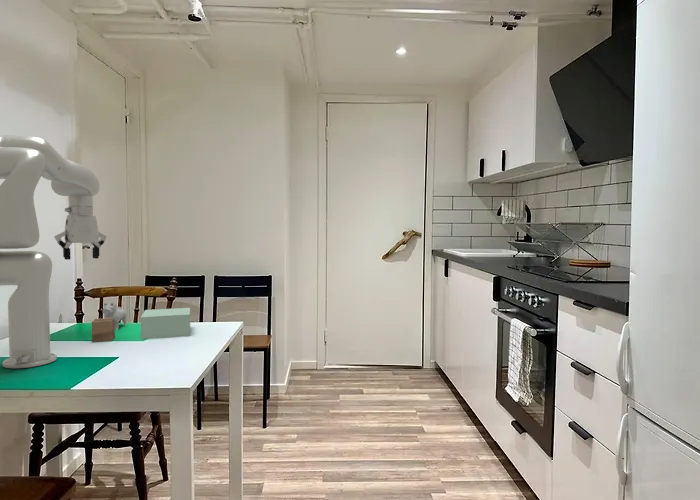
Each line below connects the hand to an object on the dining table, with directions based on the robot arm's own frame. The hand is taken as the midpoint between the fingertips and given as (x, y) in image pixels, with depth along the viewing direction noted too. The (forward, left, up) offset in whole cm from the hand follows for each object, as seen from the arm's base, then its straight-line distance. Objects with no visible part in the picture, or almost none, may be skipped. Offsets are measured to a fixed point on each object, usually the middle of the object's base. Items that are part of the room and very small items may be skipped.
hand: (81, 258), depth 166 cm
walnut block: (-13, -9, -28) cm, 32 cm away
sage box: (-8, -29, -28) cm, 41 cm away
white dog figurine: (+8, -9, -28) cm, 30 cm away
